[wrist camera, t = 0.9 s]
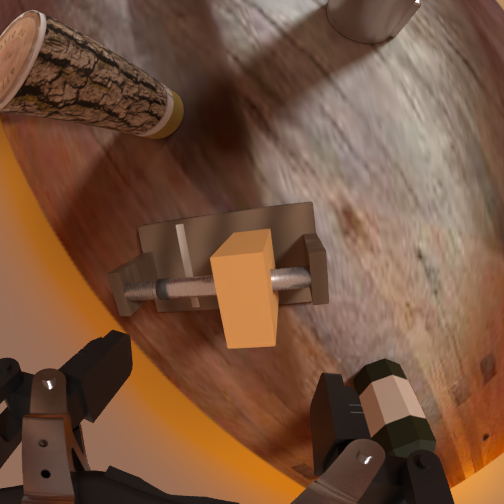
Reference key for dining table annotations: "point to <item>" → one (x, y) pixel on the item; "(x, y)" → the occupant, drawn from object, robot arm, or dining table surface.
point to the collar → (246, 289)
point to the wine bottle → (392, 410)
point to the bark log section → (80, 81)
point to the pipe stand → (206, 244)
